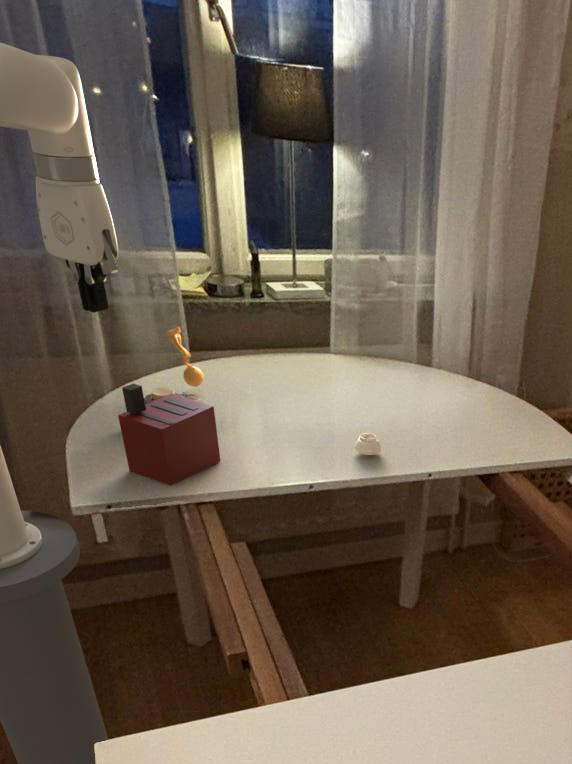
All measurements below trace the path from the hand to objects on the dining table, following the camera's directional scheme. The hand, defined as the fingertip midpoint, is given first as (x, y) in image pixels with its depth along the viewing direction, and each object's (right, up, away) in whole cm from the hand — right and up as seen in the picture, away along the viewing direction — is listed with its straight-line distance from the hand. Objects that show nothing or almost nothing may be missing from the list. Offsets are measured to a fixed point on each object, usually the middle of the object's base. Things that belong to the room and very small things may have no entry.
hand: (96, 309), depth 116 cm
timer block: (-2, -8, +31) cm, 32 cm away
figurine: (-3, +3, +44) cm, 44 cm away
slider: (+3, -13, +8) cm, 15 cm away
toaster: (+6, -20, +16) cm, 26 cm away
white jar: (+37, -15, +28) cm, 49 cm away
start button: (-1, -5, +28) cm, 29 cm away
